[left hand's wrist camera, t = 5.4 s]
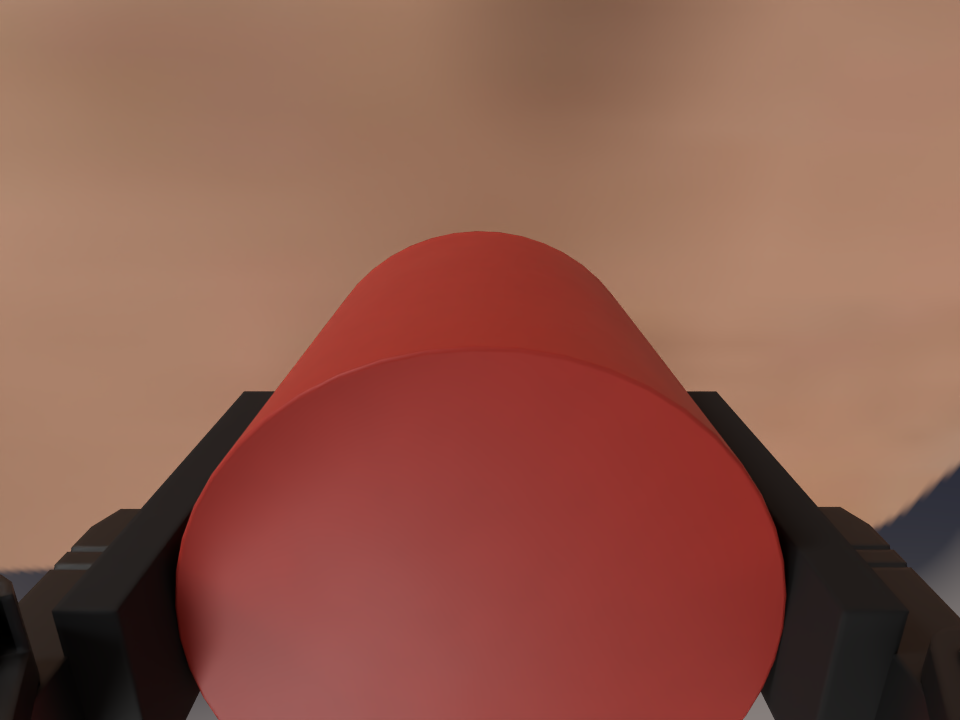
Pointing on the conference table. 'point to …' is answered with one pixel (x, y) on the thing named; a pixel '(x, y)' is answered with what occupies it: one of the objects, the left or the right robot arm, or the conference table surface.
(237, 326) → the conference table surface
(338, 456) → the canister
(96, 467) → the conference table surface
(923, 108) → the conference table surface
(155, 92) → the conference table surface
